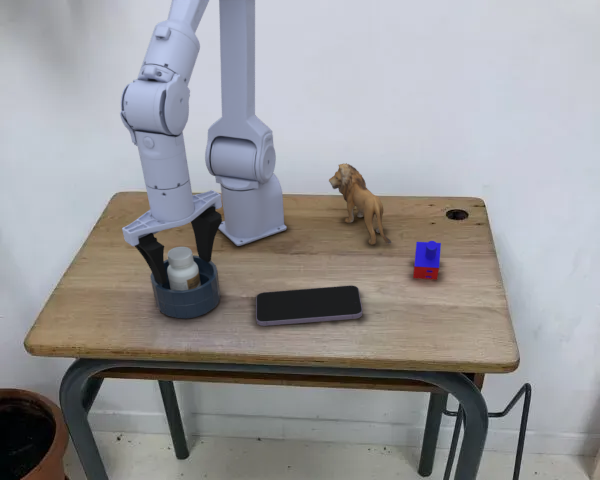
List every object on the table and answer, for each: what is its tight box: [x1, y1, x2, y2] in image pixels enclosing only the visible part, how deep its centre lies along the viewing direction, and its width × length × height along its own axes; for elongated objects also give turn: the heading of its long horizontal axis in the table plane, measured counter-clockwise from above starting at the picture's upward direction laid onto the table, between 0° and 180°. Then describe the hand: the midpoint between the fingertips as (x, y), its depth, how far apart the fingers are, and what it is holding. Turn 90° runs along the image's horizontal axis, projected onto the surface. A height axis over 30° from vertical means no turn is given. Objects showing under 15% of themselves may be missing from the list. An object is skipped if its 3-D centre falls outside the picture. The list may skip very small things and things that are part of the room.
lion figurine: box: [328, 162, 392, 246], centre depth 112 cm, size 15×5×9 cm, turn 33°
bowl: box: [149, 254, 222, 319], centre depth 100 cm, size 9×9×5 cm
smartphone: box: [255, 284, 363, 327], centre depth 99 cm, size 7×1×15 cm
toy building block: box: [412, 240, 442, 281], centre depth 102 cm, size 4×4×8 cm
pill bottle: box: [167, 246, 201, 291], centre depth 99 cm, size 4×4×8 cm
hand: (183, 269), depth 98 cm, fingers open, 7 cm apart
